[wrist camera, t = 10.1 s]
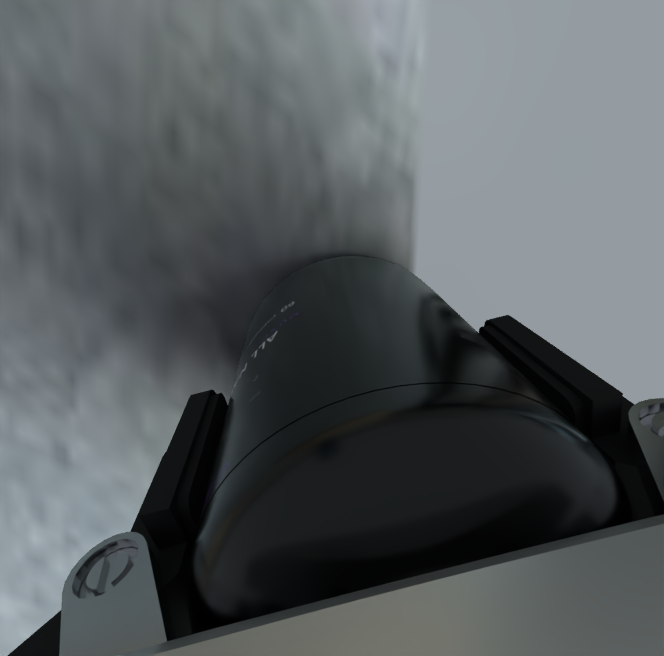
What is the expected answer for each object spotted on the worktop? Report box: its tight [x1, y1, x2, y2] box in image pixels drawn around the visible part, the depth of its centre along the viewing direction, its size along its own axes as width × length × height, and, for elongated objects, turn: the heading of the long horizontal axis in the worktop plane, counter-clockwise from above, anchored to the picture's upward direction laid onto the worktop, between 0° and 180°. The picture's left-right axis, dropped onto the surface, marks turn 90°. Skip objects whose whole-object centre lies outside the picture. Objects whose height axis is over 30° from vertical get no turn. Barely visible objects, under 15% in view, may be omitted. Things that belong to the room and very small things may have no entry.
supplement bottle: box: [187, 256, 639, 634], centre depth 8 cm, size 7×7×12 cm
